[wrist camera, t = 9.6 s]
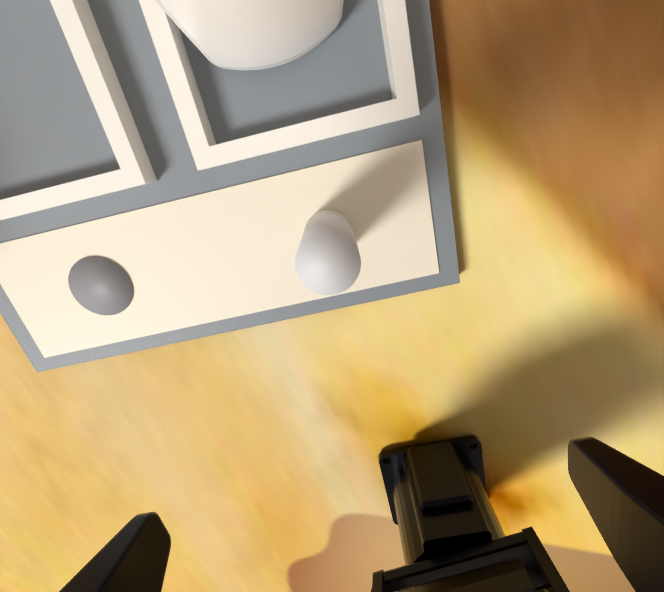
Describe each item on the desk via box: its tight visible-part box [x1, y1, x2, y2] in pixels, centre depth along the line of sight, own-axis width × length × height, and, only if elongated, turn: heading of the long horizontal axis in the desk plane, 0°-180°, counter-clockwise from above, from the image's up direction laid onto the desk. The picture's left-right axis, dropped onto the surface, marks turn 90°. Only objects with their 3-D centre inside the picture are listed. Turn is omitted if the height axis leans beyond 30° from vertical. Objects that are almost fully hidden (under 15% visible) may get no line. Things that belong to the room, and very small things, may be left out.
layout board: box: [0, 0, 460, 372], centre depth 15 cm, size 18×24×6 cm
